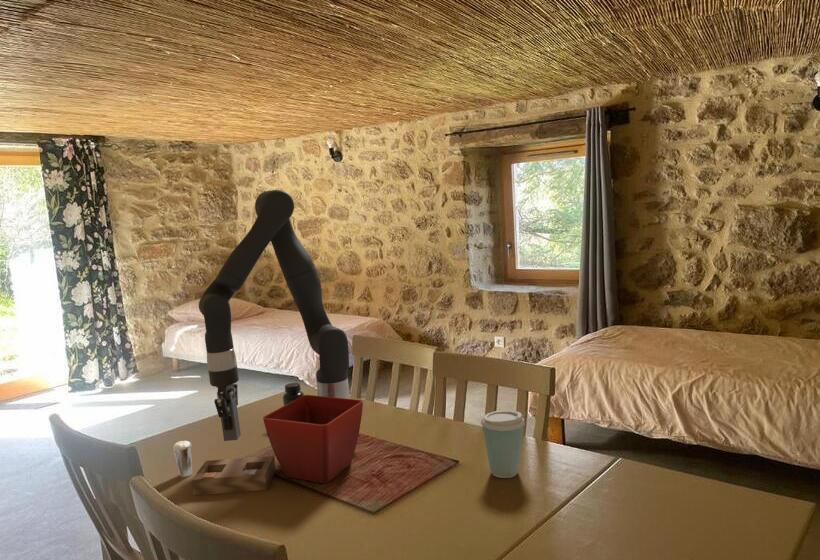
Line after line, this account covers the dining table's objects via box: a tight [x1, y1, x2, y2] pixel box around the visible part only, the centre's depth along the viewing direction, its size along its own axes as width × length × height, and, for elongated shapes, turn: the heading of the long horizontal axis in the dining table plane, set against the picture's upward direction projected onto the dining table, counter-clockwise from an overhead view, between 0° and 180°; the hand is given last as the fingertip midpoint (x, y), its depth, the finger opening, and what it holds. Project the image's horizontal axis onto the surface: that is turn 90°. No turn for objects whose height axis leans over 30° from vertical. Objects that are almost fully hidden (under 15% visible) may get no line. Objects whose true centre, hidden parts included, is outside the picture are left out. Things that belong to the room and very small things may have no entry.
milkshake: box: [172, 438, 193, 478], centre depth 161 cm, size 4×5×10 cm
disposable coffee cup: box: [480, 409, 526, 479], centre depth 149 cm, size 11×11×15 cm
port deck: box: [191, 455, 277, 496], centre depth 155 cm, size 18×11×4 cm, turn 91°
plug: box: [220, 396, 242, 442], centre depth 166 cm, size 4×4×12 cm
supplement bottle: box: [282, 382, 305, 406], centre depth 196 cm, size 7×7×12 cm
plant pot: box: [262, 394, 364, 484], centre depth 157 cm, size 19×19×17 cm
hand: (231, 426), depth 166 cm, fingers closed on plug, 3 cm apart
